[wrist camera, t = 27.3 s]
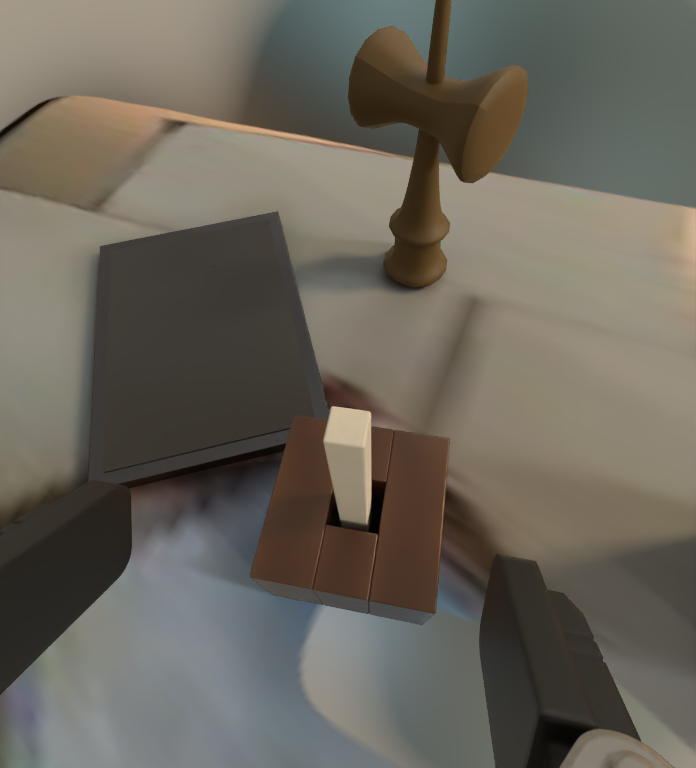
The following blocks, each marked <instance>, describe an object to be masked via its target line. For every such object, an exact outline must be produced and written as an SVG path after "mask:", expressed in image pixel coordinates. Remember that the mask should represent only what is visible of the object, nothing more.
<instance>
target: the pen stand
mask: <svg viewBox="0 0 696 768" xmlns="http://www.w3.org/2000/svg"><path fill="white" fill-rule="evenodd" d="M327 422H328V420H325V419H318V418H311V417H304V416H298V415H294V417H293V421H292V424H291V428H290V432H289V435H288V439H287V442H286V446H285V450H284V453H283V457H282V460H281V464H280V468H279V471H278V475H277V479H276V482H275V486H274V489H273V493H272V497H271V500H270V504H269V508H268V511H267V515H266V518H265V522H264V526H263V529H262V533H261V537H260V540H259V544H258V547H257V551H256V555H255V558H254V562H253V566H252V569H251V573H250V578H252V579H253V580H254V581H256V582H257V583H258V584H259V585H261V586H262V587H263V588H265V589H266V590H267V591H269V592H270V593H271V594H273V595H276V596H281V597H286V598H291V599H296V600H301V601H306V602H311V603H316V604H321V605H323V604H324V605H326V606H331V607H336V608H341V609H346V610H351V611H356V612H361V613H366V614H368V613H369V614H371V615H376V616H380V617H386V618H391V619H395V620H400V621H405V622H410V623H416V624H420V625H422V624H424V623H425V622H426V621H427V620H428V619H429V618H431V617H432V616H433V615H434V614H435V613H436V603H437V591H438V579H439V567H440V554H441V542H442V530H443V518H444V505H445V493H446V481H447V469H448V456H449V444H450V439H449V438H444V437H437V436H430V435H424V434H417V433H410V432H403V431H397V430H395V431H394V430H392V429H385V428H379V427H372V426H371V502H372V513H375V514H380V515H381V520H380V527H379V534H376V533H370V532H365V531H359V530H353V529H348V528H342V527H339V522H340V517H339V512H338V508H337V503H336V498H335V494H334V489H333V485H332V480H331V475H330V471H329V466H328V461H327V457H326V452H325V447H324V443H323V439H324V435H325V430H326V426H327Z"/></svg>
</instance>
